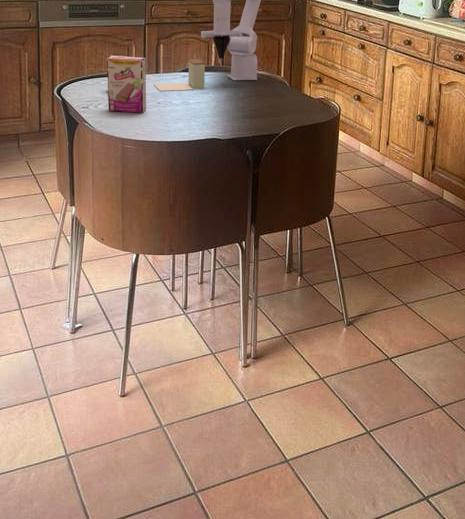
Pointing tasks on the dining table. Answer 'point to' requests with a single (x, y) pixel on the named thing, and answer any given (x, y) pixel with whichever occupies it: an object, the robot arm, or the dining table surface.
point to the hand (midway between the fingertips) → (220, 58)
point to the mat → (173, 87)
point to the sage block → (196, 73)
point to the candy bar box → (126, 84)
